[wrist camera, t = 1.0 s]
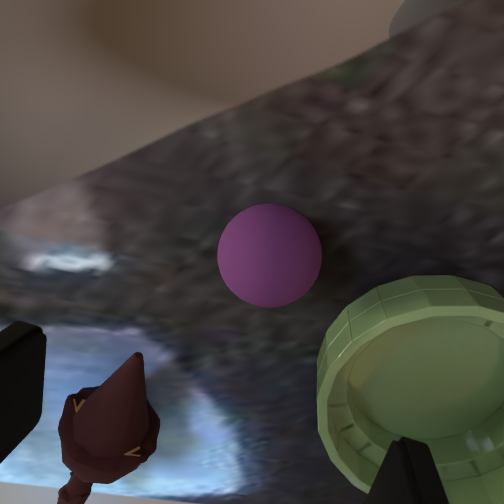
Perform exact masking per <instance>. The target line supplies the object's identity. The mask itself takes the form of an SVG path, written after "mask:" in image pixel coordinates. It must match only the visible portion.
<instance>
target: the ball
mask: <svg viewBox="0 0 504 504" xmlns="http://www.w3.org/2000/svg"><path fill="white" fill-rule="evenodd" d="M321 261H322V249H321V244H320V240H319V237H318V235H317V232H316V230H315V229H314V227H313V226H312V224H311V223H310V222H309V221H308V220H307V218H305V217H304V216H303V215H302V214H301V213H299V212H298V211H296V210H294V209H292V208H290V207H287V206H284V205H280V204H272V203H267V204H259V205H255V206H252V207H249V208H247V209H245V210H243V211H242V212H240V213H239V214H237V215H236V216H235V217H234V218H233V219H232V220H231V221H230V222H229V224H228V225H227V226H226V228H225V230H224V231H223V233H222V236H221V238H220V242H219V246H218V265H219V269H220V273H221V275H222V278H223V280H224V281H225V283H226V285H227V286H228V287H229V289H230V290H231V291H232V292H233V293H234V294H235V295H237V296H238V297H239V298H241V299H242V300H244V301H245V302H247V303H250V304H252V305H255V306H260V307H268V308H269V307H281V306H284V305H287V304H290V303H292V302H294V301H296V300H298V299H299V298H300V297H302V296H303V295H304V294H305V293H306V292H307V291H308V290H309V289H310V288H311V287H312V285H313V284H314V282H315V280H316V279H317V276H318V274H319V271H320V267H321Z"/></svg>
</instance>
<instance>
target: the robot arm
mask: <svg viewBox="0 0 504 504" xmlns="http://www.w3.org/2000/svg"><path fill="white" fill-rule="evenodd" d="M46 342H47V338H46V335H45V334H43V331H42V328H41V327H39V326H36V325H32V324H29V323H26V322H22V321H17V322H15V323H13V324H11V325H10V326H8V327H7V328H5V329H4V330H2V331H0V463H1V462H2V461H3V460H4V459H5V458H6V457H7V456H8V455H9V454H10V453H11V452H12V451H13V450H14V449H15V448H16V447H17V445H18V444H19V443H20V442H21V441H22V440H23V439H24V438H25V437H26V436H27V435H28V434H29V433H30V432H31V431H32V430H33V429H34V427H35V426H36V425H37V423H38V422H39V420H40V417H41V414H42V402H43V387H44V372H45V357H46ZM364 504H449V501H448V498H447V495H446V493H445V490H444V487H443V484H442V482H441V479H440V476H439V473H438V470H437V468H436V465H435V462H434V459H433V457H432V454H431V451H430V448H429V446H428V445H427V444H426V443H423V442H420V441H417V440H413V439H410V438H407V437H401V438H400V439H399V441H396V440H393V441H392V442H391V444H390V446H389V448H388V451H387V453H386V455H385V457H384V460H383V462H382V464H381V466H380V468H379V471H378V473H377V475H376V477H375V480H374V482H373V484H372V486H371V488H370V491H369V493H368V495H367V497H366V500H365V502H364Z"/></svg>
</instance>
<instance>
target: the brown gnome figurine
mask: <svg viewBox="0 0 504 504" xmlns="http://www.w3.org/2000/svg"><path fill="white" fill-rule="evenodd" d="M159 429H160V419H159V417H158V415H157V414H156V412H155V411H154V410H153V408H152V407H151V405H150V404H149V402H148V400H147V398H146V387H145V375H144V361H143V355H142V353H140V352H136V353H134V354H133V355H132V356H131V357H130V358H129V359H128V360H127V361H126V362H125V363H124V364H123V365H122V366H121V367H120V368H119V369H118V370H116V371H115V372H114V373H113V374H112V375H111V376H110V377H109V378H108V379H107V380H106V381H105V382H104V383H103V384H102V385H101V386H97V387H88V388H83V389H81V390H80V391H79V392H78V393H76V394H70V395H69V396H68V397H67V399H66V401H65V405H64V409H63V413H62V416H61V419H60V421H59V426H58V432H59V436H60V440H61V448H62V462H63V463H64V464H65V465H66V466H67V467H68V468H69V469H70V470H71V471H72V472H71V473H70V475H71V478H70V480H69V482H68V484H66V485H64V486H63V487H62V488H61V489H60V490H59V492H58V493H59V498H58V502H57V504H84V503H85V501H86V500H87V498H88V496H89V495H90V492H91V487H92V484H93V483H101V484H110V483H113V482H114V481H116V480H118V479H120V478H121V477H123V476H125V475H127V474H128V473H130V472H132V471H134V470H135V469H137V468H138V466H139V465H140V464H141V463H143V462H145V461H147V459H148V458H149V456H150V455H151V454H153V453H154V452H155V450H156V447H157V437H158V433H159Z"/></svg>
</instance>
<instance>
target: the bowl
mask: <svg viewBox="0 0 504 504" xmlns="http://www.w3.org/2000/svg"><path fill="white" fill-rule="evenodd" d="M317 417H318V432H319V434H320V437H321V439H322V441H323V444H324V446H325V448H326V451H327V453H328V455H329V458H330V460H331V461H332V462H333V463H334V464H335V466H336V467H337V468H338V469H339V470H340V471H341V472H342V473H343V474H344V475H345V477H346V478H347V479H348V480H349V481H350V482H351V483H352V484H353V485H354V486H355V487H357V488H359V489H360V490H362V491H363V492H365V493H367V494H368V493H369V491H370V488H371V486H372V484H373V482H374V480H375V477H376V475H377V473H378V471H379V468H380V466H381V464H382V462H383V460H384V457H385V455H386V453H387V451H388V448H389V446H390V444H391V442H392V441H393V440H396V441H399V439H400V438H401V437H407V438H410V439H413V440H417V441H420V442H423V443H426V444H427V445H428V446H429V448H430V451H431V454H432V457H433V459H434V462H435V465H436V468H437V470H438V473H439V476H440V479H441V482H442V484H443V487H444V490H445V493H446V495H447V498H448V501H449V504H504V294H502V293H501V292H499V291H497V290H496V289H494V288H493V287H491V286H489V285H486V284H483V283H479V282H475V281H472V280H468V279H464V278H461V277H457V276H452V275H427V276H410V277H406V278H403V279H400V280H396V281H393V282H390V283H386V284H383V285H380V286H377V288H376V287H375V288H374V289H372V290H371V291H369V292H367V293H366V294H364V295H363V296H361V297H360V298H358V299H357V300H355V301H354V302H352V303H351V304H349V305H348V306H347V307H346V308H345V309H344V310H343V311H342V312H341V314H340V315H339V316H338V317H337V319H336V320H335V321H334V322H333V324H332V325H331V326H330V327H329V329H328V330H327V332H326V334H325V337H324V340H323V343H322V346H321V349H320V352H319V355H318V358H317Z"/></svg>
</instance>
